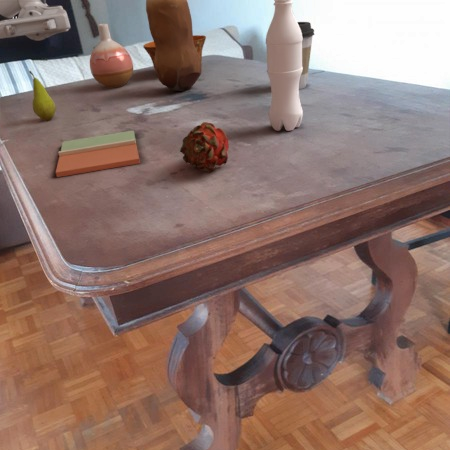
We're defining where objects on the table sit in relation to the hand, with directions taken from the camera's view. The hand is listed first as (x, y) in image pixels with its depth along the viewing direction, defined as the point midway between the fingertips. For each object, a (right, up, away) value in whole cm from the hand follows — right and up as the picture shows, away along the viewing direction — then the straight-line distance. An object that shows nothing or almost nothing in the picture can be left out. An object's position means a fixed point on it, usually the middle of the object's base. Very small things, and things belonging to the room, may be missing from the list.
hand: (28, 28), depth 125 cm
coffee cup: (+71, -13, +6) cm, 72 cm away
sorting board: (+25, -41, -25) cm, 54 cm away
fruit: (+4, -23, +3) cm, 24 cm away
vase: (+16, -1, +31) cm, 35 cm away
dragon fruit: (+49, -47, -37) cm, 77 cm away
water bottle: (+65, -35, -23) cm, 77 cm away
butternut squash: (+39, -9, +16) cm, 43 cm away
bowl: (+36, +7, +39) cm, 53 cm away
